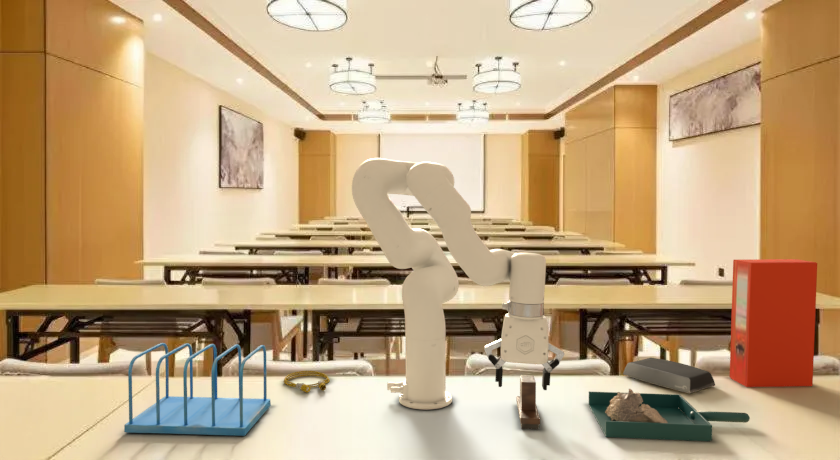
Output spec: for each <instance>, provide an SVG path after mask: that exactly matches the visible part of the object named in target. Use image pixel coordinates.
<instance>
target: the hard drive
mask: <svg viewBox="0 0 840 460" xmlns="http://www.w3.org/2000/svg"><path fill="white" fill-rule="evenodd" d="M625 365H626V366H625V367H624V370H623V372H622V375H624V376H626V377H630V378H632V379H636V380H639V381H642V382H645V383H647V384H648V383H649V384H653V385H656V386H659V387H662V388H667V389H670V390H674V391H678V392H681V393H686V394H692V393H696V392H699V391H702V390H706V389H709V388H711V387H714V386H716V383H715V379H714V377H713V375H712V373H711V372H710V371H707V370H705V369H702V368H699V367H695V366H692V365H689V364H686V363H681V362H677V361H672V360H667V359H663V358H657V357H647V358H643V359H641V360H640V359H639V360H635V361H631V362H630V361H629V362H627V364H625Z"/></svg>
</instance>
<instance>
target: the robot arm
mask: <svg viewBox="0 0 840 460" xmlns="http://www.w3.org/2000/svg"><path fill="white" fill-rule="evenodd" d="M389 195H402V196H412V197H414V198H415V199H416V200H417V201H418V203H419V204H420V206H422V208H423V209H424V210H425V211H426V212H427V214H428V215H429V216H430V218H431V219H432V221H433V222H434V223H435V225H437V227H438V229H440V232H441V235H442V238H443V241H444V242H445V245H446V247H447V249H448V251H449V253H450V255H451V256H452V259H454V261H455V262H456V263H457V264H458V266H459V267H460V268H461V270H462V271H463V272H464V273H465V275H466V276H467V277H468V279H470V280H471V281H472V282H473V283H475V285H479V286H480V287H481V286H482V287H492V286H494V285H497V284H501V283H504V282H509V292H508V296H509V297H508V301H506V302H502V303H501V309H502V310H505V311H507V312H508V313H505V315H504V317H503V323H502V328H501V338H499V339H498V340H494V341H492V342H491V343H488V344H486V345H484V346H483V350H484V352H485V354H486V356H487V358H488V361H489V362H490V363H491V364H492V365H493V366H494V368H495V376H494V377H495V379H494V382H496V383H498V384H497V385H498V388H501V387H503V373H504V370H503V369H504V368H503V366H504V365H505V363H512V364H513V363H514V364H526V365H542V367H543V369H542V374H541V375H542V376H541V377H542V378H541V386H542V390H543V391H547V390H548V386H550V385H551V373H552V372H553V370H554V369H555V368H557V367H558V366H559V365H560V363H561V361H562V360H563V358H564V357H565V351H564V350H562V349H561V348H559V347H557V346H556V345H554V344H552V343H550V341H549V338H550V337H549V323H548V318H547V316H545V315H544V312H545V311H544V308H545V293H546V292H545V291H546V290H545V289H546V287H545V286H546V273H547V272H546V271H547V260H546V257H545V256H544V255H543V254H541V253H536V252H516V251H512V250H507V249H503V248H494V249H493V248H492V249H489V247H488V246H487V245H486V244H485V242H483V240H482V239H481V238H480V236H479V235H478V234H477V231H476V230H475V228H474V226H473V224H472V209H471V206H470V205H469V203H468V202H467V201H466V200H465V198H464V197H463V196H462V195H461V193H460V192H458V190H457V189H456V188H455V177H454V174H453V172H452V171H451V169H450V168H449V167H447V166H446V165H444V164H443V163H442V164H441V163H437V162H431V161H421V162H412V161H404V160H395V159H388V158H381V157H374V158H369V159H366V160H364V161H363V162H362V163H360V164H359V166H358V167H357V168H356V170H355V171H354V174H353V177H352V180H351V196H352V199H353V202H354V204H355V206H356V208H357V210H358V212H359V214H360V215H361V217H362V218H363V220H364V222H365V223H366V224H367V226H368V228H369V230H370V231H371V234H372V236H373V237H374V239H375V240H376V242H377V244H378V246H379V247H380V249H381V251H382V253H383V255H384V256H385V258H386V259H387V261H388V263H389V264H390V265H391V266H392V267H393V268H396V269H398V270H406V269H410V268H411V269H412V271H411V272H410V273H409V274H408V275H407V276H406V277H405V279H404V281H403V282H402V286H401V299H402V300H401V301H402V305H403V312H404V323H405V324H404V335H405V378H404V380H402V381H400V382H396V381H395V382H394V381H388V382H387V383H386V384H387V385H386V390H387V391H390V393H394V394H396V393H397V394H398V393H400V394H399V396H398V402H399V404H401V406H404V407H406V408H409V409H414V410H423V411H424V410H427V411H428V410H438V409H442V408H445V407H448V406H449V405H450V404H451V403H452V402H453V395H452V394H451V393H450V392H448V391H446V388H447V387H446V383H447V382H446V381H447V380H446V379H447V378H446V375H447V373H446V367H447V366H446V363H447V362H446V359H447V357H446V356H447V355H446V354H447V353H446V352H447V351H446V350H447V348H446V346H447V341H446V340H447V339H446V337H447V335H446V334H447V332H446V331H447V329H446V328H447V327H446V319H445V318H446V317H445V313H444V308H443V304H446V303H447V302H449V301H452V299H453V298H455V296H456V295H457V293H458V291H459V287H460V283H459V278H458V274H457V272H456V271H455V268H454V267H453V265H452V264H451V262H450V260H449V259H448V257H447V255H446V254H445V252H444V250H443V249H442V247H441V246H440V244H439V242H438V241H437V239H436V238H435V237H434V235H433V234H431V233H430V232H428V231H427V230H426V229H423V228H418V227H415V228H414V227H413V228H412V227H411V225H409V223H408V222H407V220H406V219H405V217H404V215H403V213H402V212H401V210H400V209H399V207H398V206H397V205H396V204H395V203H394V202H393V201H392V200H391V198H390V197H389ZM498 348H500V356H498V357H496V356H495V355H494V353H493V351H494V350H496V349H498ZM549 351H550V352H551V353H553V354H555V356H554V358H552V359H551V361H549Z"/></svg>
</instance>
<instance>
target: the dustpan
mask: <svg viewBox="0 0 840 460" xmlns="http://www.w3.org/2000/svg"><path fill="white" fill-rule="evenodd" d="M622 393H623V394H624V393H626V394H628V392H622ZM639 393H640V396H641V397H642V400H643V402H642V404H645V405H649V406H650V408H653V409H655V410H657V411H658V413H659V414H660V416H661V417H662V418H665V420H666V421H667V422H668V423H651V422H625V421H616V420H613V421H611V420H612V419H611V417H608V415H607V413H605V411H606V410H607V408H608V406H609V405H610V401H611V399H613V398H614V396H617V394H618V393H617V391H615V392H613V391H588V407H589V408H590V410H591V412H592V414H593V416H594V418H595V419H596V422H597V423H598V425H599V427H600V429H601V431H602V433H603V435H604V437H605V438H617V439H618V438H619V439H642V440H643V439H645V440H665V441H666V440H667V441H689V442H690V441H691V442H692V441H693V442H710V441H713V425H712V423H710V422H721V423H743V424H744V423H746V424H747V423H748V422H750V420H751V418H750V415H749V414H748V413H746V412H741V411H740V412H737V411H736V412H735V411H711V410H709V411H707V410H697V409H696V407H694V406H693V405H692V404H690V402H688V401H687V400H686V399H685V398H684V396H682V394H677V393H676V394H674V393H673V394H672V393H646V392H644V393H643V392H639ZM639 406H641V404H640V405H639Z"/></svg>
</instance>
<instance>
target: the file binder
mask: <svg viewBox="0 0 840 460" xmlns="http://www.w3.org/2000/svg"><path fill="white" fill-rule="evenodd" d="M817 281H818V262H817V261H810V260H804V259H797V258H796V259H795V258H792V259H790V258H789V259H787V258H783V259H779V258H778V259H776V258H775V259H774V258H773V259H769V258H768V259H766V258H765V259H763V258H762V259H761V258H759V259H757V258H756V259H733V260H732V285H731V286H732V287H731V288H732V291H731V317H730V319H731V321H730V322H731V323H730V349H729V350H730V352H729V359H730V360H729V378H730V379H731V380H733V381H735V382H736V383H738V384H740V385H742V386H744V387H746V388H763V387H764V388H769V387H770V388H771V387H772V388H773V387H777V388H778V387H780V388H781V387H784V388H785V387H812V386H813V382H814V362H815V361H814V358H815V334H816V331H815V330H816V308H817V283H818V282H817Z"/></svg>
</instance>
